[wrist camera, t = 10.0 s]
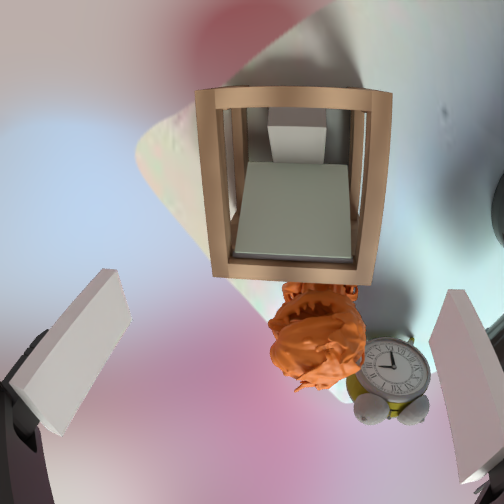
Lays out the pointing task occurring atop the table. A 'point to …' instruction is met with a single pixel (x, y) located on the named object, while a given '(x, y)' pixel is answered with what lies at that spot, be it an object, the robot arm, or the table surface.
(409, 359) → the alarm clock
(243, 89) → the frame
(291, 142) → the grey block
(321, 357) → the orange sculpture
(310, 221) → the hatch
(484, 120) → the table surface
